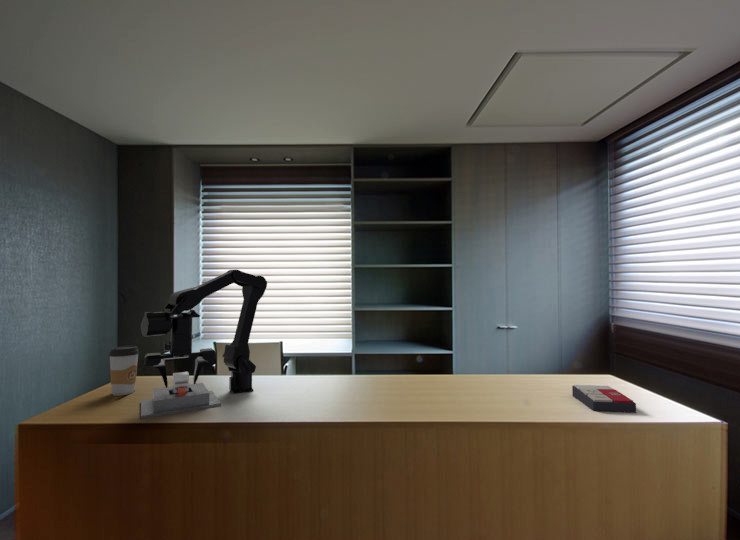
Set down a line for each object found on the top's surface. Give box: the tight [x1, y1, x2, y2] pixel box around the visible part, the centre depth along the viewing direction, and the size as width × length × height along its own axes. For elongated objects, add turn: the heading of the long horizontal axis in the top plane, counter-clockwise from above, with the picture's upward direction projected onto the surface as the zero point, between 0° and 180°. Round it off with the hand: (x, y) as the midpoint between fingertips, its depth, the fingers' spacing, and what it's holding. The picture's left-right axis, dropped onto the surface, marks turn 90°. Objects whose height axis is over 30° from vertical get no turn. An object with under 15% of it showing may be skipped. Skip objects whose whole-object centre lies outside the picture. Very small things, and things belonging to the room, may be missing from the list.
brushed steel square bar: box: [172, 371, 190, 395], centre depth 111 cm, size 4×4×9 cm
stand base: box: [140, 382, 222, 420], centre depth 111 cm, size 20×16×6 cm
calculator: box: [571, 384, 637, 414], centre depth 110 cm, size 11×4×15 cm
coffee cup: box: [108, 345, 140, 397], centre depth 123 cm, size 8×8×15 cm
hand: (180, 385), depth 111 cm, fingers open, 7 cm apart
